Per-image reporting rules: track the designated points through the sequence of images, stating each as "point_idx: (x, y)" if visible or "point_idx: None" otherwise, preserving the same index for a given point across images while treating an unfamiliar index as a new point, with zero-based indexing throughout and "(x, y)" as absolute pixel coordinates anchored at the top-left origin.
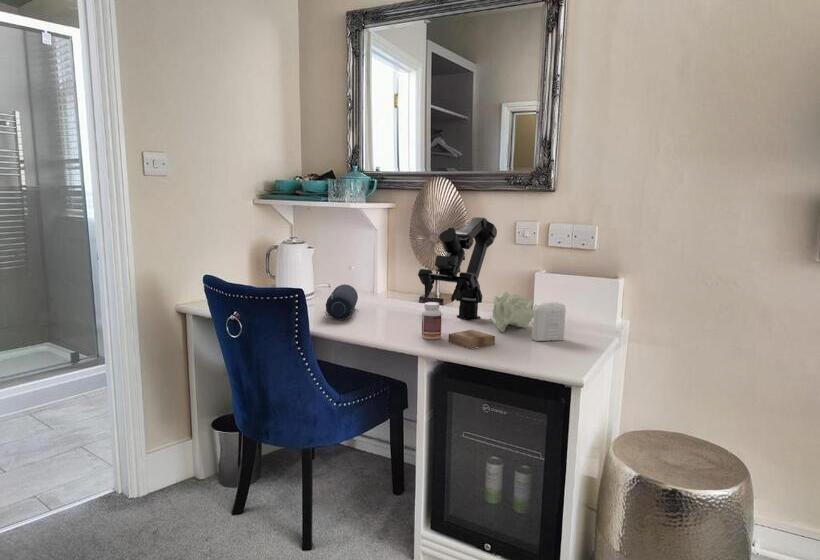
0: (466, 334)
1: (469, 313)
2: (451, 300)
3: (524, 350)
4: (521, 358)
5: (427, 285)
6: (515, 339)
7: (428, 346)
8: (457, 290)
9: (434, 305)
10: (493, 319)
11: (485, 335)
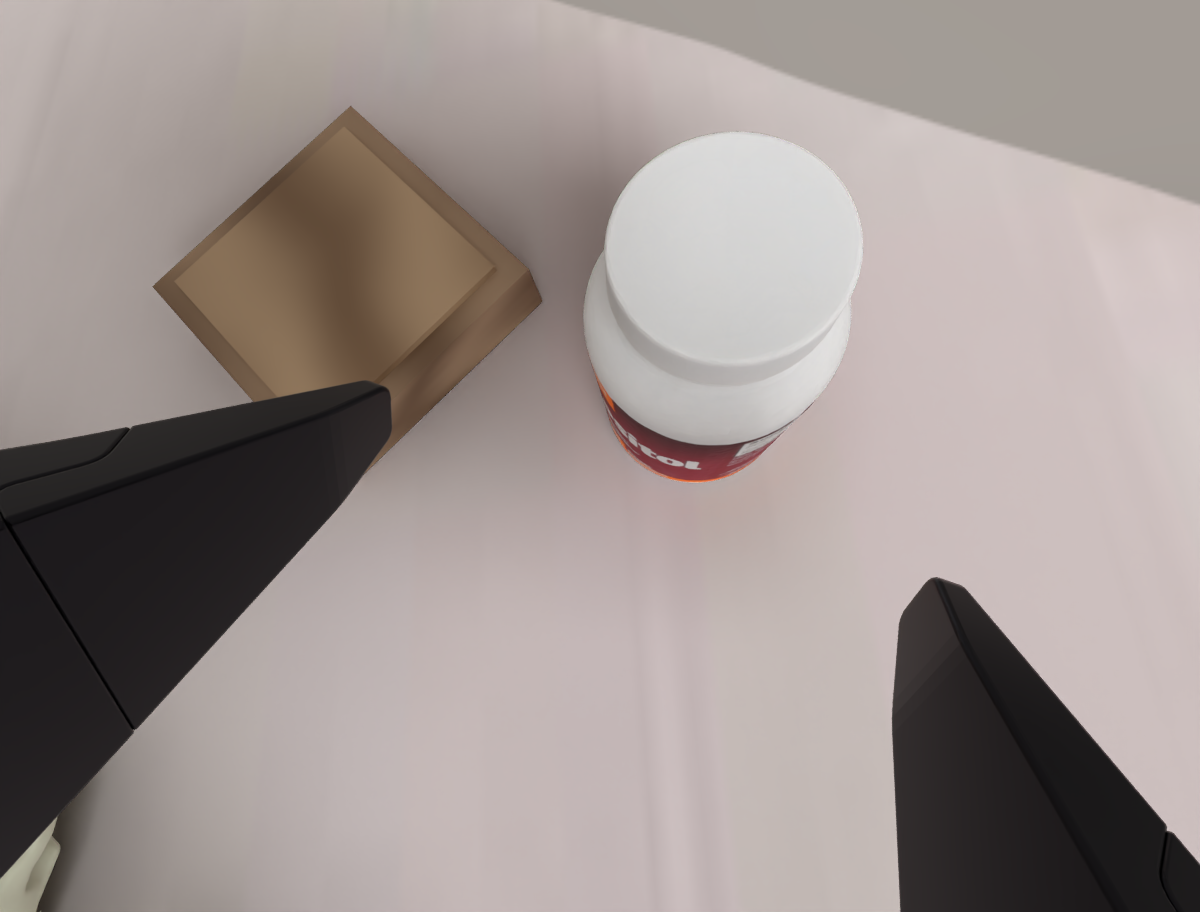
0: (374, 252)
1: None
2: (385, 397)
3: (40, 210)
4: (102, 44)
5: (1132, 885)
6: None
7: None
8: (112, 433)
9: (675, 147)
10: None
11: (222, 255)
